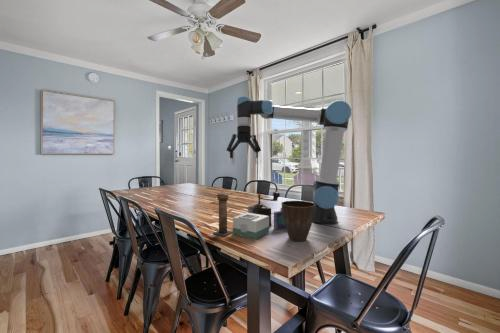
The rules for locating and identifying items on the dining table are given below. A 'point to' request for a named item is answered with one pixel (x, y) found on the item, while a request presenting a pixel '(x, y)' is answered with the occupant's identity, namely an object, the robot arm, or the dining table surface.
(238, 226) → the tissue box
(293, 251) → the dining table surface
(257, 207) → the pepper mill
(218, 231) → the mat
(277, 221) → the flask
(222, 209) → the brown knobbed cylinder
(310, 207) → the plant pot
